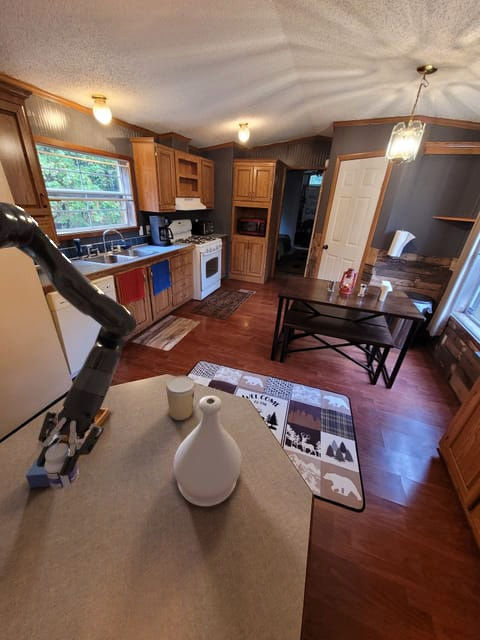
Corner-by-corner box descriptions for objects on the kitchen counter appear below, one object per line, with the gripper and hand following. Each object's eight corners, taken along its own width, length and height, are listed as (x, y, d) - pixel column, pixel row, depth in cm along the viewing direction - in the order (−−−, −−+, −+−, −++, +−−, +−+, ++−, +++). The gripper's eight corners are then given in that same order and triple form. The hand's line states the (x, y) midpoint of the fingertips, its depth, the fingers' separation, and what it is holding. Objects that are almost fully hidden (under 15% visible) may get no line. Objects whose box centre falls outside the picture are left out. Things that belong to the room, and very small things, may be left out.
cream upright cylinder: (199, 415, 87) (199, 387, 82) (173, 426, 82) (171, 396, 77) (188, 399, 94) (188, 372, 89) (163, 408, 88) (161, 380, 84)
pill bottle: (75, 463, 60) (68, 436, 56) (82, 479, 56) (75, 451, 53) (48, 478, 56) (38, 449, 53) (53, 496, 53) (44, 467, 49)
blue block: (30, 488, 61) (25, 475, 59) (40, 471, 65) (36, 459, 63) (50, 486, 62) (46, 473, 60) (59, 469, 66) (55, 457, 64)
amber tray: (46, 438, 74) (44, 433, 73) (75, 408, 85) (74, 404, 84) (85, 443, 73) (84, 438, 72) (109, 413, 84) (109, 408, 84)
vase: (205, 437, 78) (207, 370, 69) (252, 470, 70) (262, 398, 60) (159, 480, 65) (154, 404, 55) (210, 527, 56) (214, 447, 46)
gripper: (51, 379, 57) (9, 462, 51) (105, 395, 54) (66, 485, 48) (76, 384, 64) (40, 458, 58) (125, 399, 60) (93, 478, 55)
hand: (52, 470), depth 53 cm, fingers closed on pill bottle, 5 cm apart
